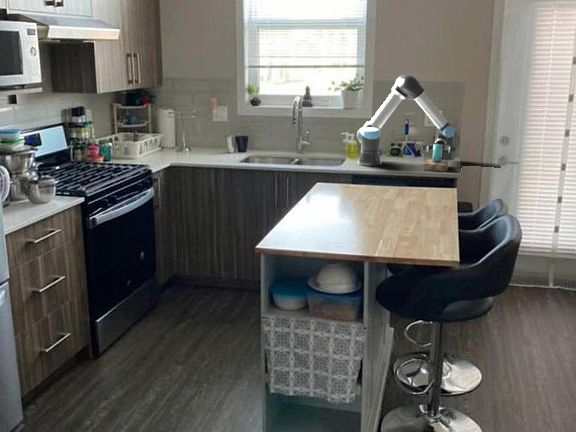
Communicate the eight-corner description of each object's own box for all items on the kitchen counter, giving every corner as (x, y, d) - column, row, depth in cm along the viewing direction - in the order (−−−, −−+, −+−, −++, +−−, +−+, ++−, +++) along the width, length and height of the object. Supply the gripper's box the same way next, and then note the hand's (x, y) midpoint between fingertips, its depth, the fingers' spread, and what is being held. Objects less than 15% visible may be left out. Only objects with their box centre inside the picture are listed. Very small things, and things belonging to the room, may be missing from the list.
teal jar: (432, 162, 403) (433, 145, 400) (432, 161, 408) (433, 144, 405) (440, 163, 401) (442, 145, 399) (441, 161, 407) (442, 144, 404)
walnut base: (424, 170, 399) (424, 163, 398) (425, 165, 416) (426, 159, 415) (446, 171, 396) (447, 165, 395) (447, 166, 412) (448, 160, 411)
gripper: (458, 152, 421) (457, 157, 401) (420, 150, 427) (417, 154, 407) (459, 140, 419) (458, 145, 399) (421, 138, 425) (418, 143, 406)
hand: (438, 150), depth 403 cm, fingers open, 13 cm apart
